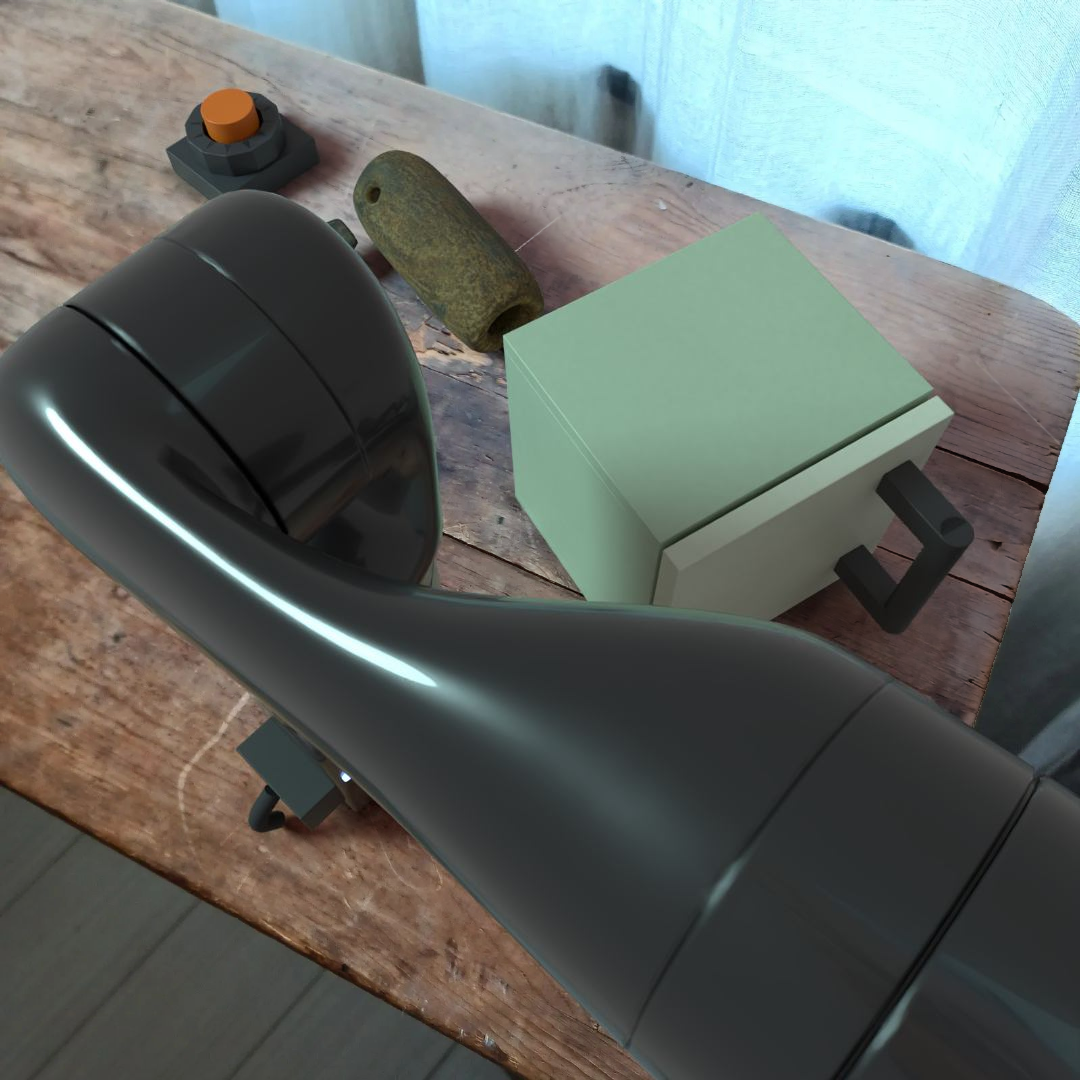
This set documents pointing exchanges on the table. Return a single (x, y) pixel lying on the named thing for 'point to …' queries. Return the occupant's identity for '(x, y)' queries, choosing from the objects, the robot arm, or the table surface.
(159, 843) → the table surface
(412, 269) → the stone weight
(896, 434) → the door
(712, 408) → the pale green box
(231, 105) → the button
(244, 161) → the control block
